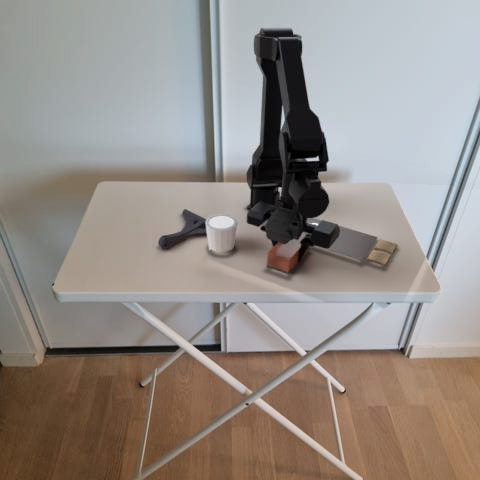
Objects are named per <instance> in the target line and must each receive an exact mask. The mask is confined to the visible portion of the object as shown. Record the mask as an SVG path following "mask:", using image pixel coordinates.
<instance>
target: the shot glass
mask: <svg viewBox="0 0 480 480" xmlns="http://www.w3.org/2000/svg"><path fill="white" fill-rule="evenodd" d="M205 219H206V221H205V224H206V227H205V229H206V231H207V234H206V238H207V245H208V246H207V247H208V251H211V250H212V251H214V252H217V253H225V252H230V251H231V250H233V249H234V247H235V242H236V237H237V229H238V227H237V226H238V220H237V219H236V218H235V217H234V216H232V215H229V214H223V213H220V214H219V213H217V214H213V215H210V216H209V217H207V218H205Z"/></svg>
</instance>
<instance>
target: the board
mask: <svg viewBox="0 0 480 480" xmlns="http://www.w3.org/2000/svg"><path fill="white" fill-rule="evenodd" d="M322 220H323V219H318V218H316V217H315V218H308V219H307V222H308V223H317V224H319V223H320V222H321V221H322ZM338 226H339V228H340V233H339V237H338V238H337V239H336V240H335V242H334V243H333V244H332V245H331V247H330V248H327V249H326V250H328V251H331V252H334V253H337V254H341V255H343V256H347V257H349V258H352V259H356V260H360V261H363V260H364V258H365V257H366V256H367V254H368V253H369V251H370V249H371V248H372V247H373V245H374V244H375V242H376V241H377V239H378V236H375V235H371V234H368V233H365V232H361V231H359V230H355V229H352V228H349V227H345V226H341V225H338ZM303 233H305V232H303ZM314 247H319V246H316V245H315V246H314ZM319 248H321V249H323V248H322V247H319Z"/></svg>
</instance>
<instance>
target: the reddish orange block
mask: <svg viewBox="0 0 480 480" xmlns="http://www.w3.org/2000/svg"><path fill="white" fill-rule="evenodd" d="M304 237H305V233H302V235H301V236H300V238H299V239H298V240H295V239H293V240H292V241H291V240H290V241H289V242H288V243H287V244H281V243H280V242H278V243H277V244H276V245H275V246H274V247H273V246H272V248H271V249H270V250H269V251H267V258H266V267H267V268H269V269H272V270H275V271H278V272H280V273H283V274H286V275H289V274H290V273H291V271H292V270H293V269H294V268H295V267H296V266H297V264H298V257H299V252H300V248H301V244H300V241H301V240H302V239H303V238H304ZM309 250H310V248H309V249H308V251H309Z"/></svg>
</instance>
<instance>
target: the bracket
mask: <svg viewBox="0 0 480 480" xmlns="http://www.w3.org/2000/svg"><path fill="white" fill-rule="evenodd" d="M181 213H182V217H183V219H184V221H185V225H184V227H183V228H182V229H181V230H180V231H177V232H174V233H170V234H165V235H161V236H160V238H159V239H158V242H157V245H158V246H159V247H160V248H162V249H164V250H165V249H169V248H170V247H172V246H174V245H176V244H178V243H179V242H182V241H183V240H185V239H187V238H189V237H191V236H194V235H207V231H206V224H205V221H206V219H207V218H204V217H202V216H201V215H198V214H197V213H195V212H192V211H190V210H189V209H187V208H184V209H183V210H182V212H181Z"/></svg>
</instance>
